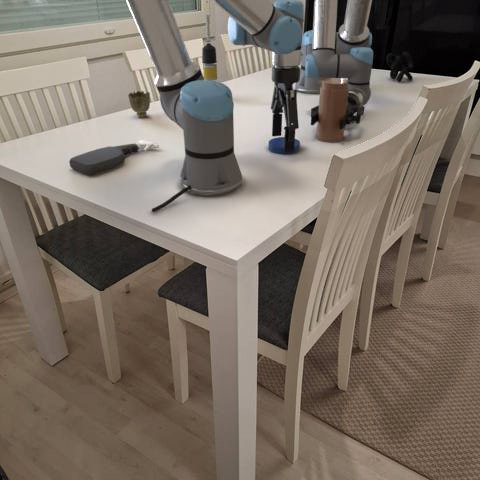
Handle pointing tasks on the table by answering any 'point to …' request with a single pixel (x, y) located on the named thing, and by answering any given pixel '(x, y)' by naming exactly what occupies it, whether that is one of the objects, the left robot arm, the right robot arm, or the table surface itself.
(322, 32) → the right robot arm
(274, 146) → the lid
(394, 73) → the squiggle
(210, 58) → the black tall bottle
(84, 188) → the table surface
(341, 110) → the jar
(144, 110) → the cup
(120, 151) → the spray bottle
